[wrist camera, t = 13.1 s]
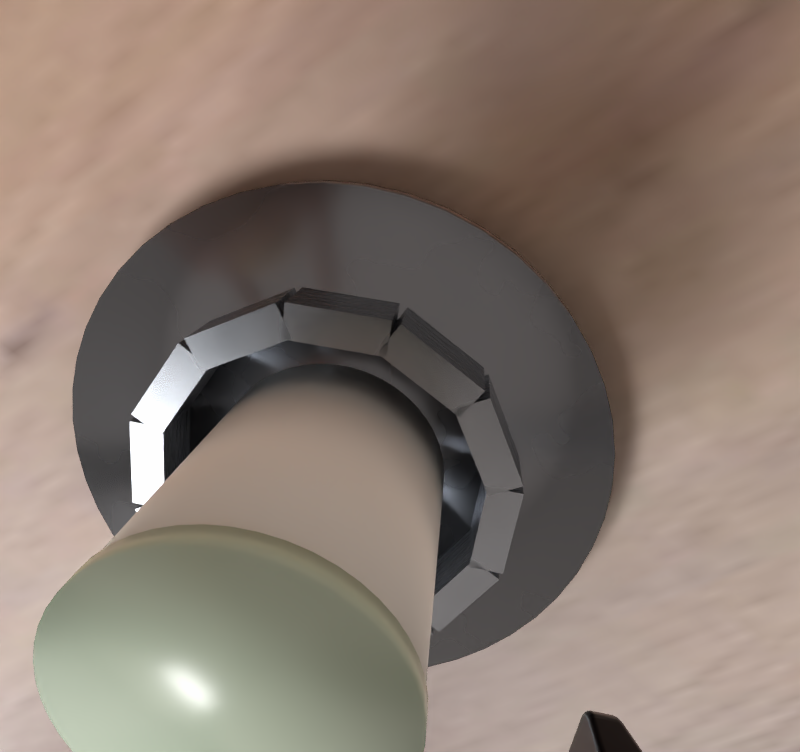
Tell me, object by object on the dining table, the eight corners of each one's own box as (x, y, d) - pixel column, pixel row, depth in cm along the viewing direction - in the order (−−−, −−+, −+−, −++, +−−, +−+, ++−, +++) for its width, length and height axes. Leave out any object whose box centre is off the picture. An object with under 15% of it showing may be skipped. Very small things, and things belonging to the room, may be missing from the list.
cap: (314, 311, 12) (169, 462, 6) (496, 472, 13) (514, 732, 7) (177, 467, 13) (-32, 694, 8) (344, 599, 14) (263, 887, 9)
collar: (667, 597, 14) (693, 658, 12) (233, 689, 17) (207, 750, 15) (506, 73, 10) (512, 59, 9) (-11, 304, 13) (-82, 327, 11)
